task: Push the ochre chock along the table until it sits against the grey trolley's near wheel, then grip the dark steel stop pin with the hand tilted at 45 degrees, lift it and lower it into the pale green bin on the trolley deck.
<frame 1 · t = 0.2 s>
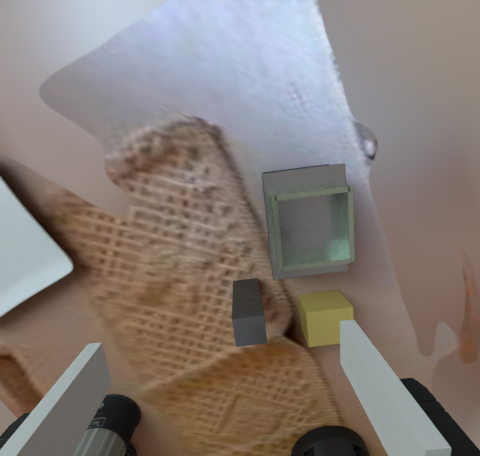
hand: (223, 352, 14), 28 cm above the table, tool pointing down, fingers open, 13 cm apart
chock: (319, 308, 45), on the table
trolley: (294, 213, 41), on the table
stop pin: (246, 290, 44), on the table
milk frother: (119, 428, 51), on the table
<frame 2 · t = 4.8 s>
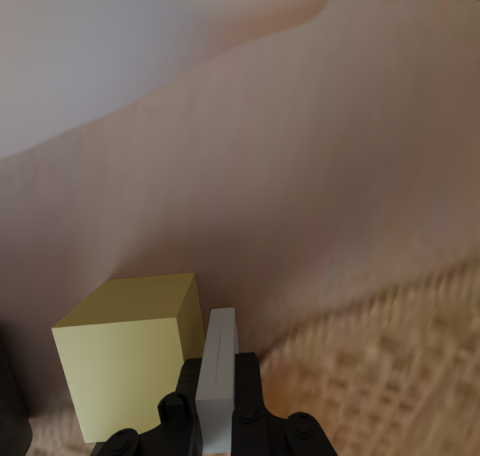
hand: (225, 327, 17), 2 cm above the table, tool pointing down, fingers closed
chock: (159, 321, 18), on the table, touching gripper
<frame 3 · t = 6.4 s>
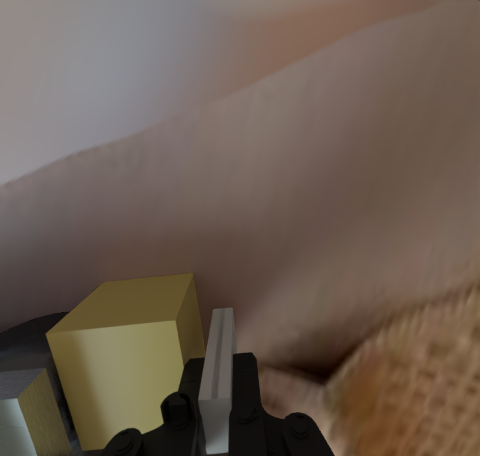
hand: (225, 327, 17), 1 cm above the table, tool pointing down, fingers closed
chock: (157, 323, 18), on the table, touching gripper, trolley
trolley: (26, 373, 19), on the table
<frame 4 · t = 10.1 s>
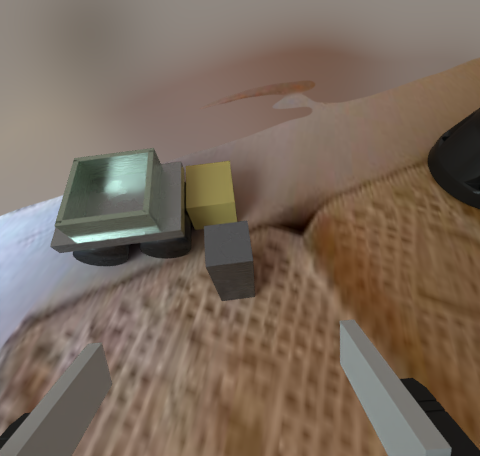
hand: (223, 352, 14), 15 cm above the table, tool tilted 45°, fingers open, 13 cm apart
chock: (215, 207, 38), on the table
trolley: (145, 232, 37), on the table
stop pin: (236, 282, 32), on the table
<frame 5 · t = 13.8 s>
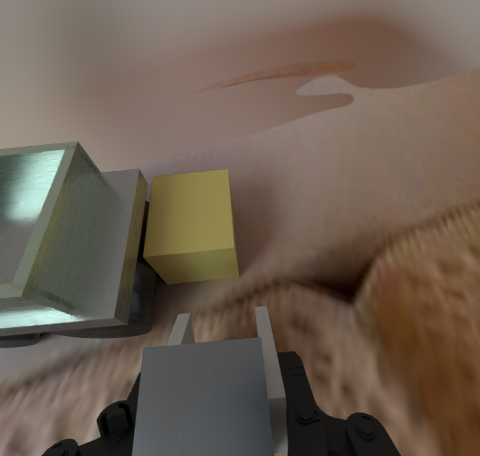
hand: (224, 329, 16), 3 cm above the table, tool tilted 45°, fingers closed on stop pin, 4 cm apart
chock: (203, 244, 24), on the table
trolley: (84, 284, 22), on the table
stop pin: (232, 399, 17), on the table, touching gripper
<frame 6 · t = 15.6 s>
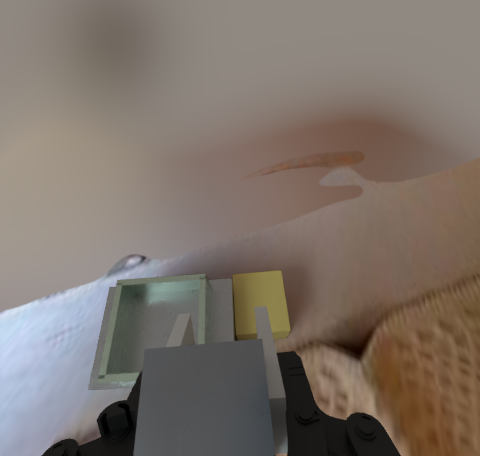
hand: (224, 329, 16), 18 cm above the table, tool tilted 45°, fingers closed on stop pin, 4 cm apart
chock: (259, 312, 35), on the table
trolley: (184, 339, 34), on the table
stop pin: (233, 400, 17), point 15 cm above the table, touching gripper
when the fingers open (13 cm above the table, at t = 17.4 s): stop pin drops 2 cm, resting on trolley.
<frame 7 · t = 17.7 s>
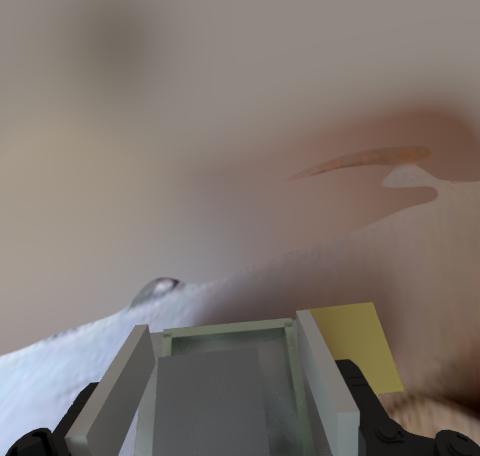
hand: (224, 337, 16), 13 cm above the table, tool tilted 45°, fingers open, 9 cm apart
chock: (335, 353, 27), on the table
trolley: (240, 395, 25), on the table
stop pin: (234, 399, 19), point 8 cm above the table, touching trolley
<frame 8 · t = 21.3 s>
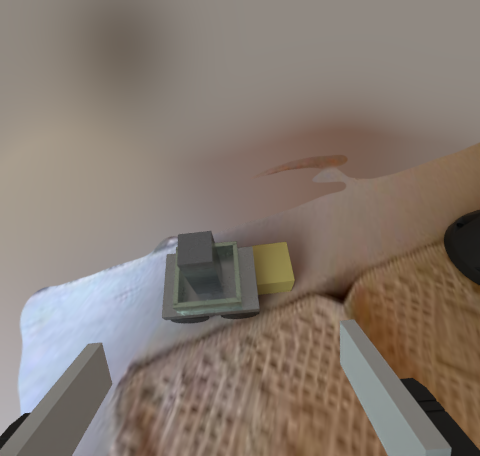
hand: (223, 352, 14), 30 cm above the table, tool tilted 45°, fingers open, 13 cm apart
chock: (270, 274, 48), on the table
trolley: (216, 294, 46), on the table
stop pin: (209, 280, 40), point 8 cm above the table, touching trolley
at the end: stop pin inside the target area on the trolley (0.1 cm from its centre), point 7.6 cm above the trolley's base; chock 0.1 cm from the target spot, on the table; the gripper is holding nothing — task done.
